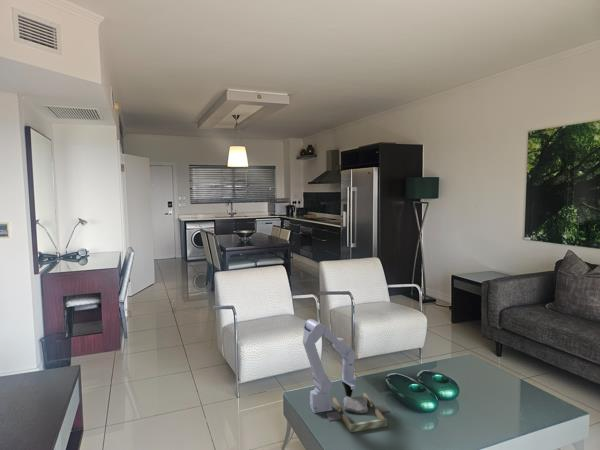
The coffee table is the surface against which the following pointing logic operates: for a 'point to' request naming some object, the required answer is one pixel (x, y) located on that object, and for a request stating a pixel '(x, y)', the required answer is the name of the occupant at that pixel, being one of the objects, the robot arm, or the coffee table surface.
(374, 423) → the tan u-shaped piece
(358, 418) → the coffee table surface
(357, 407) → the stone block
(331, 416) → the trap pits
